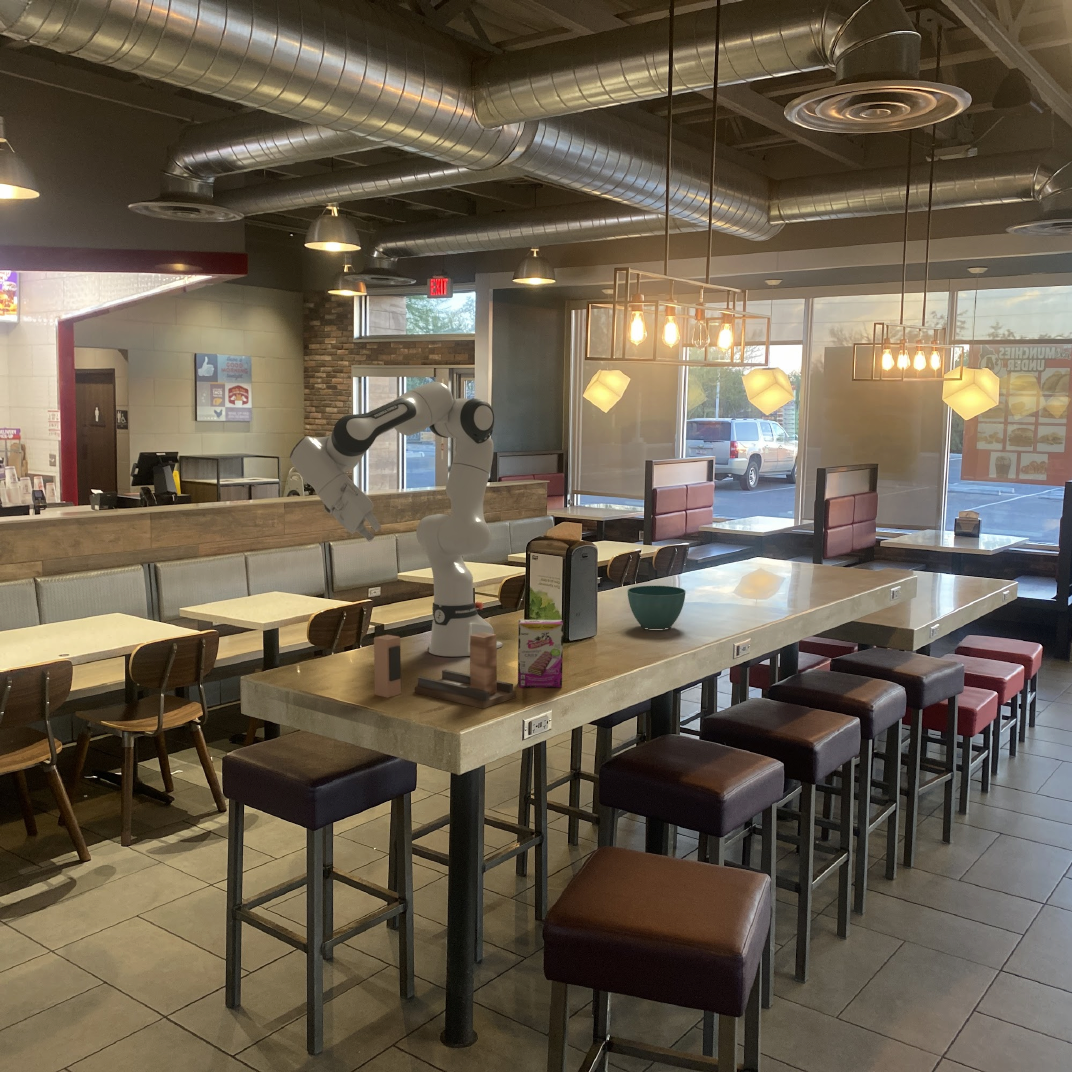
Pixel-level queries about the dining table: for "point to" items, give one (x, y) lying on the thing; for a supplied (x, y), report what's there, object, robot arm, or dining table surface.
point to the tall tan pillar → (387, 665)
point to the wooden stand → (472, 678)
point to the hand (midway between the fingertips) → (375, 534)
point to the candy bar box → (540, 653)
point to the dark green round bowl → (656, 605)
